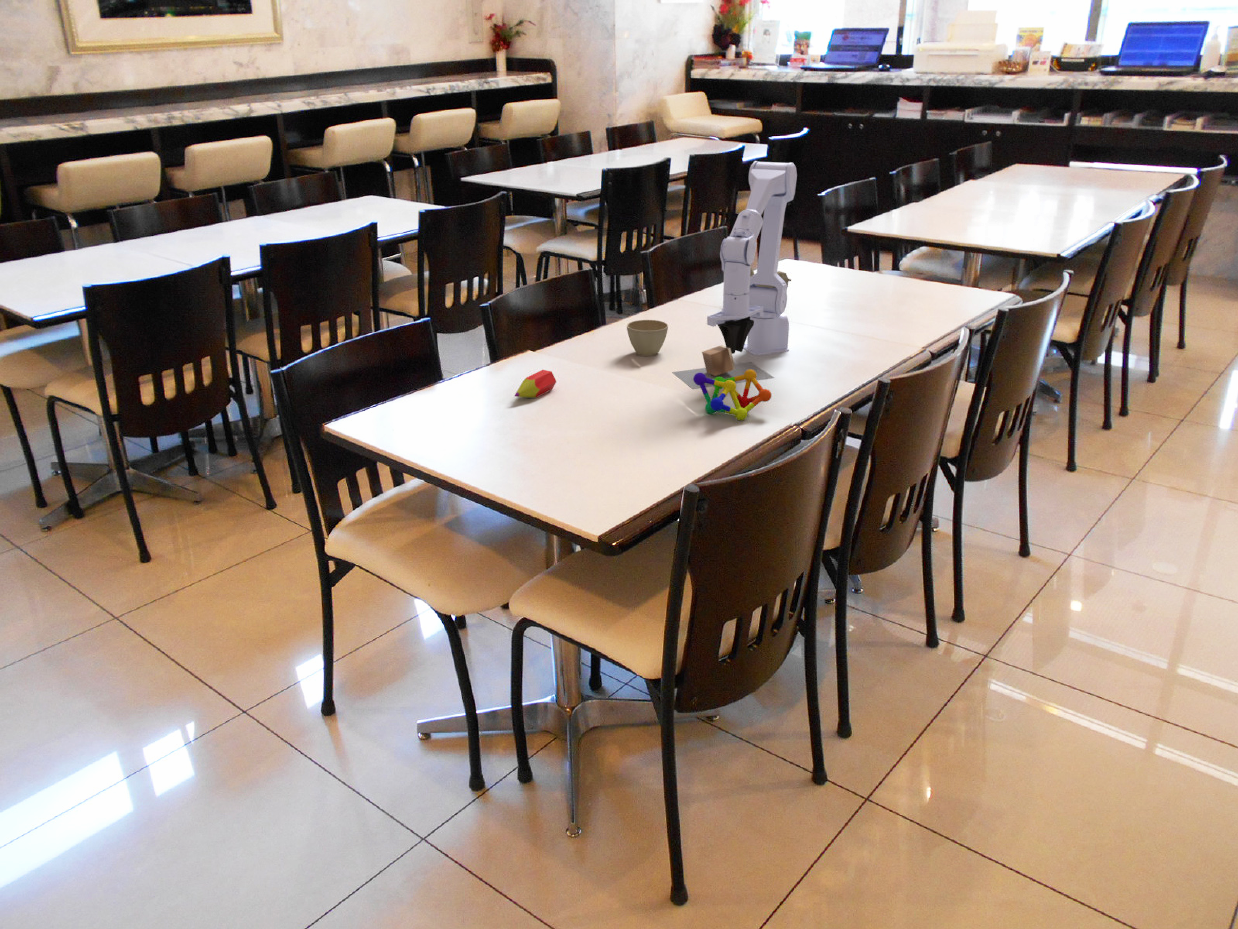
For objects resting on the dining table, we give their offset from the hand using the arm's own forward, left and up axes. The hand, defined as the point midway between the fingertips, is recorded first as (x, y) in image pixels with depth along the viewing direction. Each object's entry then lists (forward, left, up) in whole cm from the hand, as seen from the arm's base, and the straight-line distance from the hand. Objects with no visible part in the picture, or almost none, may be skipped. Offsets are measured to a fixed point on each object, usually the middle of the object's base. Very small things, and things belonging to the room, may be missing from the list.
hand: (734, 351), depth 212 cm
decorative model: (+11, +21, -6) cm, 24 cm away
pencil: (+46, -4, -6) cm, 47 cm away
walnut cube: (+1, -1, -2) cm, 2 cm away
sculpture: (-31, -47, -6) cm, 56 cm away
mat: (+3, 0, -6) cm, 6 cm away
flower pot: (+13, -22, -6) cm, 26 cm away
